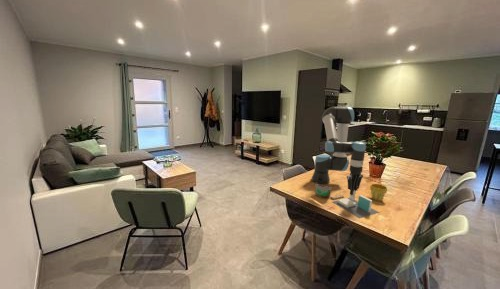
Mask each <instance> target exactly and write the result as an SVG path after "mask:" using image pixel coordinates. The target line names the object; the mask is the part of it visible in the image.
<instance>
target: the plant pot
mask: <svg viewBox="0 0 500 289" xmlns="http://www.w3.org/2000/svg"><path fill="white" fill-rule="evenodd" d="M369 190H370V191H371V194H370V195H371V200H372V199H373V200H375V201H378V202H381V201H383V200H384V197H385V194H387V192H388V187H387V185H383V184H380V183H371V184H370V188H369Z"/></svg>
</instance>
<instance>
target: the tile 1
mask: <svg viewBox="0 0 500 289" xmlns="http://www.w3.org/2000/svg"><path fill="white" fill-rule="evenodd" d="M347 198H348V197H346V198H339V199H337V201H338V203H339V204H341V205H343V206H344V207H346V208H349V207H353V206H356V203H355V202H353V201H351V200H349V199H347Z"/></svg>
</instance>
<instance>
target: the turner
mask: <svg viewBox="0 0 500 289" xmlns="http://www.w3.org/2000/svg"><path fill="white" fill-rule="evenodd" d="M344 197H345V195H342V194H335V195H330V197H329V199H331V200H334V201H335V200H340V199H344Z"/></svg>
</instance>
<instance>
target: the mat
mask: <svg viewBox="0 0 500 289" xmlns="http://www.w3.org/2000/svg"><path fill="white" fill-rule="evenodd" d="M346 198H347V199H349V200H351V201H353V202H355V203H356V206H353V207H349V208H346V207H344V206H343V205H341V204H339V203H338V200H334V201H331V203H332V204H333V205H335V206H337V207H339V208H341V209H342V210H344V211H346V212H347V213H349V214H351V215H353V216H354V217H356V218H358V219H361V218H362V219H363V218H365V217H369V216H372V215H375V214H379V213H380V211H378V210H375V209H374V208H372V207H371V211H370V212H369V213H368V212H367V211H365V210H363V209H361V208H359V207H358V200H357V199H355V200H352V199H350V197H346Z"/></svg>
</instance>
